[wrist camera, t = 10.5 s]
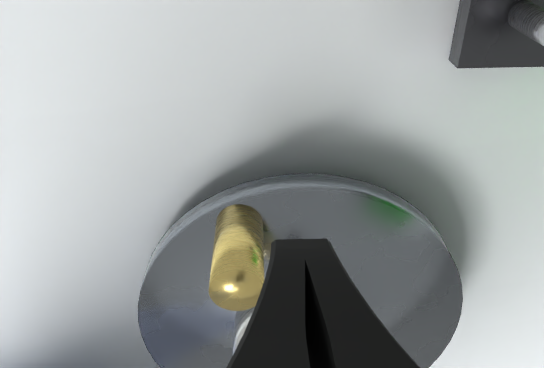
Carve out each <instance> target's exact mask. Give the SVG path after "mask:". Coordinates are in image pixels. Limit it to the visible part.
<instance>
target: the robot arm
mask: <svg viewBox="0 0 544 368" xmlns="http://www.w3.org/2000/svg"><path fill="white" fill-rule="evenodd" d="M226 368H420V367H419V365H418V364H417V363H416V362H415V361H414V360H413V359H412V358H411V357H410V356H409V355H408V353H407V352H406V351H405V350H404V349H403V348H402V347H401V345H400V344H399V343H398V342H397V341H396V340H395V338H394V337H393V336H392V335H391V334H390V332H389V331H388V330H387V328H386V327H385V326H384V325H383V323H382V322H381V321H380V320H379V318H378V317H377V316H376V314H375V313H374V312H373V310H372V309H371V308H370V306H369V305H368V303H367V302H366V300H365V299H364V298H363V296H362V295H361V293H360V292H359V290H358V289H357V287H356V286H355V284H354V283H353V281H352V280H351V278H350V277H349V275H348V273H347V272H346V270H345V268H344V267H343V265H342V263H341V261H340V260H339V258H338V256H337V254H336V252H335V250H334V248H333V246H332V244H331V242H330V241H329V240H328V239H326V238H323V239H278V240H275V241H273V242H272V243H271V253H270V260H269V265H268V269H267V272H266V276H265V280H264V283H263V286H262V289H261V292H260V295H259V297H258V300H257V303H256V306H255V308H254V311H253V313H252V315H251V318H250V320H249V322H248V325H247V327H246V329H245V332H244V334H243V336H242V338H241V340H240V342H239V344H238V346H237V348H236V350H235V352H234V354H233V356H232V358H231V360H230V362H229V364H228V365H227V367H226Z"/></svg>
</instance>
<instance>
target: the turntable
mask: <svg viewBox="0 0 544 368" xmlns="http://www.w3.org/2000/svg"><path fill="white" fill-rule="evenodd" d="M323 238H326V239H328V240H329V241H330V242H331V244H332V246H333V248H334V250H335V252H336V254H337V256H338V258H339V260H340V261H341V263H342V265H343V267H344V268H345V270H346V272H347V273H348V275H349V277H350V278H351V280H352V281H353V283H354V284H355V286H356V287H357V289H358V290H359V292H360V293H361V295H362V296H363V298H364V299H365V300H366V302H367V303H368V305H369V306H370V308H371V309H372V310H373V312H374V313H375V314H376V316H377V317H378V318H379V320H380V321H381V322H382V323H383V325H384V326H385V327H386V328H387V330H388V331H389V332H390V334H391V335H392V336H393V337H394V338H395V340H396V341H397V342H398V343H399V344H400V345H401V347H402V348H403V349H404V350H405V351H406V352H407V353H408V355H409V356H410V357H411V358H412V359H413V360H414V361H415V362H416V363H417V364H418V365H419V367H420V368H429V367H430V366H431V365H432V364H433V363H434V362H435V360H436V359H437V358H438V357H439V356H440V355H441V354H442V352H443V351H444V349H445V348H446V346H447V345H448V344H449V342H450V340H451V338H452V336H453V334H454V332H455V330H456V328H457V325H458V322H459V318H460V315H461V309H462V300H463V297H462V284H461V280H460V276H459V273H458V269H457V267H456V265H455V263H454V261H453V259H452V257H451V255H450V253H449V251H448V249H447V247H446V245H445V243H444V241H443V239H442V237H441V235H440V234H439V232H438V231H437V230H436V228H435V227H434V226H433V224H432V223H431V222H430V220H428V219H427V218H426V217H425V216H424V215H423V214H422V213H421V212H420V211H419V210H418V209H417V208H416V207H414V206H413V205H411V204H410V203H408V202H407V201H406V200H404V199H403V198H401V197H399V196H397V195H395V194H393V193H391V192H389V191H388V190H386V189H384V188H381V187H378V186H375V185H373V184H370V183H367V182H364V181H361V180H356V179H352V178H347V177H342V176H336V175H325V174H288V175H280V176H272V177H266V178H262V179H258V180H254V181H249V182H245V183H243V184H240V185H237V186H234V187H232V188H229V189H226V190H224V191H222V192H220V193H218V194H216V195H214V196H212V197H210V198H208V199H206V200H204V201H203V202H201V203H200V204H198V205H197V206H195V207H194V208H192V209H191V210H189V211H188V212H186V213H185V214H184V215H183V216H182V217H181V218H180V219H179V220H178V221H177V222H175V223H174V224H173V225H172V226H171V228H170V229H169V230H168V231H167V232H166V234H165V235H164V236H163V237H162V239H161V240H160V241H159V243H158V245H157V247H156V248H155V250H154V252H153V254H152V256H151V258H150V261H149V264H148V266H147V269H146V273H145V276H144V280H143V284H142V287H141V291H140V297H139V303H138V321H139V326H140V331H141V335H142V338H143V340H144V342H145V345H146V347H147V349H148V351H149V353H150V354H151V356H152V357H153V359H154V360H155V362H156V363H157V364H158V365H159V366H160V368H226V367H227V365H228V364H229V362H230V360H231V358H232V356H233V339H234V319H235V314H236V312H237V311H244V310H248V309H251V308H253V307H255V306H256V303H257V300H258V297H259V295H260V292H261V289H262V286H263V283H264V280H265V276H266V272H267V269H268V265H269V260H270V253H271V243H272V242H273V241H275V240H278V239H323Z"/></svg>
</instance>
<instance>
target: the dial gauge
mask: <svg viewBox="0 0 544 368" xmlns="http://www.w3.org/2000/svg"><path fill="white" fill-rule="evenodd" d="M449 61H450V62H452V63H453V64H454V65H455V66H456V67H457V68H493V67H544V0H460V4H459V9H458V14H457V20H456V25H455V30H454V35H453V40H452V46H451V51H450V56H449Z"/></svg>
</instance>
